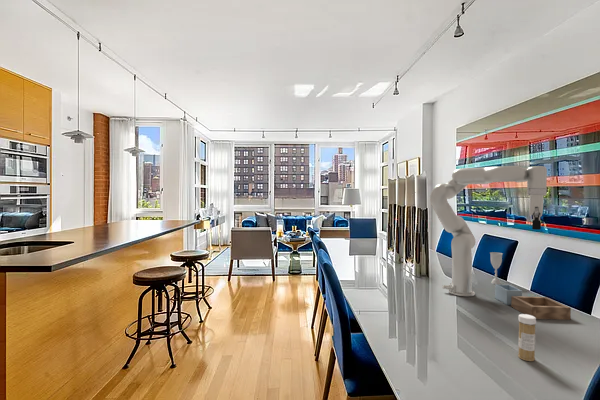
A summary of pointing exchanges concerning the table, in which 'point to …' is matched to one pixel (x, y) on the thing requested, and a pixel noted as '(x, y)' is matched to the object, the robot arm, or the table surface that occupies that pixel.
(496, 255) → the chalice
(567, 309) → the walnut crate
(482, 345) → the table surface
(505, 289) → the block
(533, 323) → the pill bottle
